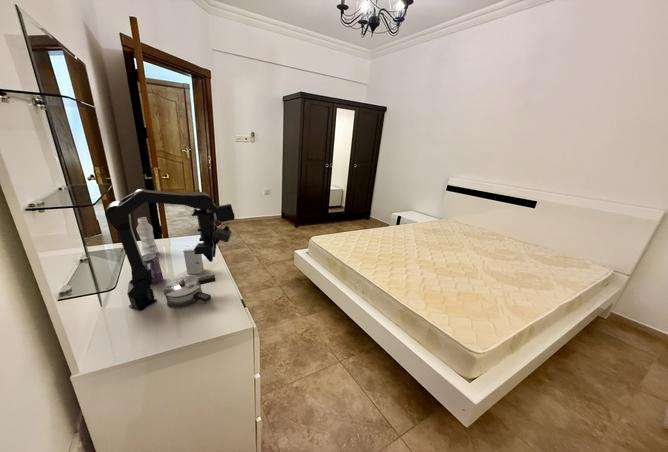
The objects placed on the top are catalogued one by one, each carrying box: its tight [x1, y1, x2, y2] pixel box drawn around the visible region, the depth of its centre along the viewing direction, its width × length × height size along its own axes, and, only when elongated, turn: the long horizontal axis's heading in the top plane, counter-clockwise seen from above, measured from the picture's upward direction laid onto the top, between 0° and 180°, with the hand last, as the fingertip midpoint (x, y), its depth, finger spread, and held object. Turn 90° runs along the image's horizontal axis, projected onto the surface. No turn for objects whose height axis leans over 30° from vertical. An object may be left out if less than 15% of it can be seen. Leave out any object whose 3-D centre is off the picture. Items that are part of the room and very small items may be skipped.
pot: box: [165, 285, 212, 310], centre depth 98 cm, size 12×18×5 cm
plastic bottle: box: [136, 216, 159, 255], centre depth 128 cm, size 6×7×20 cm
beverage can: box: [142, 254, 164, 286], centre depth 107 cm, size 7×7×12 cm
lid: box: [162, 274, 216, 298], centre depth 98 cm, size 13×18×2 cm
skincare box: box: [182, 245, 204, 275], centre depth 116 cm, size 6×4×12 cm
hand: (212, 259), depth 105 cm, fingers open, 4 cm apart
